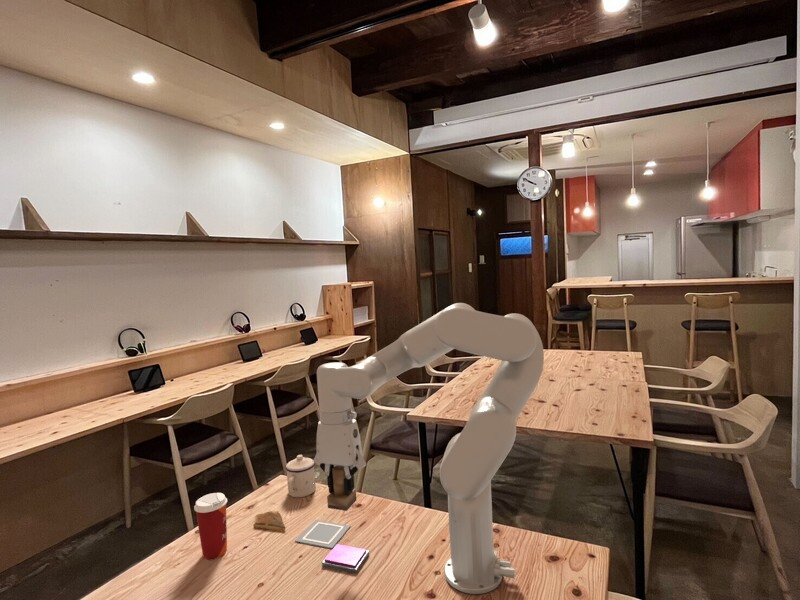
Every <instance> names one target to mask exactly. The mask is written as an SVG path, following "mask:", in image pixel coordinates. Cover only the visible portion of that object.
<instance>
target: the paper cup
mask: <svg viewBox="0 0 800 600" xmlns="http://www.w3.org/2000/svg"><path fill="white" fill-rule="evenodd" d="M227 503H228V498H227V497H226V496H225V494H224V493H222V492H213V493H211V492H210V493H208V494H205V495H203V496H202V497H200V498H199V497H198V499H197V500H196V501H195V505H194V506H193V507H194V509H193V510H194V511H195V513H196V520H197V526H198V527H197V528H198V535H199V540H200V546H201V547H200V548H201V553H202V558H203V559H205V560H206V561H207V560H208V561H213V560H217V559H219V558H221V557H223V556H224V555H225V554H227V553H226V552H227V549H228V548H227V547H228V540H227V539H228V538H227V537H228V536H227V534H228V532H227V531H228V530H227V523H228V522H227Z"/></svg>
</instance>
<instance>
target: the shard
mask: <svg viewBox="0 0 800 600" xmlns="http://www.w3.org/2000/svg"><path fill="white" fill-rule="evenodd" d="M254 519H255V521H254V523H253V525H252V526H253V528H254V529H257V528H258V529H265V528H266V529H265V530H270V529H272V531H276V530H282V532H284V531H283V530H285V531H286V528H287V527H286V524H285V523H284V521H283V518H282V515H281V513H280V512H279V510H271V511H267V512H263V513H260V514H259V513H258V514H256V515H254ZM261 527H262V528H261Z"/></svg>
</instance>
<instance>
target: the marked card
mask: <svg viewBox="0 0 800 600" xmlns="http://www.w3.org/2000/svg"><path fill="white" fill-rule="evenodd" d="M350 528H351V525H350V524H343V523H337V522H331V521H325V520H319V519H315V520H313V522H312V523H311V524H310V525H309V526H308V527H307V528H306V529H305V530H304V531H303V532H302V533H301V534H300V535H299V536H298V537H297V538H296V539H295V540H294V542H295V543H299V542H300V544H304V545H310V546H315V547H320V548H326V549H331V550H332V549H333V548H334V547H335V546H336V545H337V544H338V543H339V542H340V541H341V540H342V538H343V537H344V535H346V533H347V531H348V530H349V529H350Z"/></svg>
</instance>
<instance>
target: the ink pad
mask: <svg viewBox="0 0 800 600" xmlns="http://www.w3.org/2000/svg"><path fill="white" fill-rule="evenodd" d="M369 555H370V551H369V550H367V549H364V548H360V547H355V546H349V545H344V544H338V543H337V544H336V545H335V546H334V547H333V549H331V550H330V552H329V553H328V554H327V555H326V556H325V558H324V559H323V560H322V561H321V567H323V568H329V569H333V570H337V571H342V572H347V573H352V574H358V572H359V570H360V569H361V567H362V566H363V565H364V563H365V562H366V560H367V559H368V557H369Z"/></svg>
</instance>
